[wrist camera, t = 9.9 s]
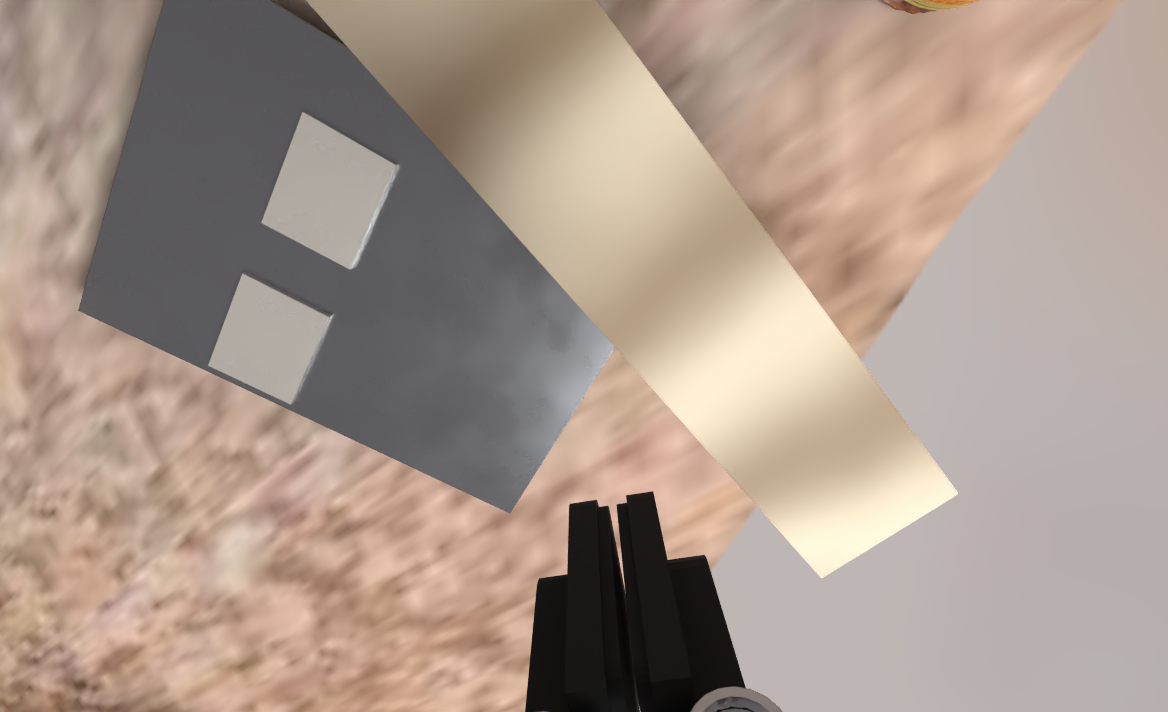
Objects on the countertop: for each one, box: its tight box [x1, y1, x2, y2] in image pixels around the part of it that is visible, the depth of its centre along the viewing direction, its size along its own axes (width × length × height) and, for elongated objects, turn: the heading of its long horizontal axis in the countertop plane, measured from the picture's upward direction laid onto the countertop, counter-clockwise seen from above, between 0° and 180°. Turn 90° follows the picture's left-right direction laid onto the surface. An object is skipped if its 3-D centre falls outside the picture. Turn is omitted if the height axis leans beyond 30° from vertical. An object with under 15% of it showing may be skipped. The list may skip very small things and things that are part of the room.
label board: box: [78, 0, 615, 513], centre depth 21 cm, size 22×22×8 cm
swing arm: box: [306, 0, 958, 578], centre depth 16 cm, size 26×5×3 cm, turn 41°
